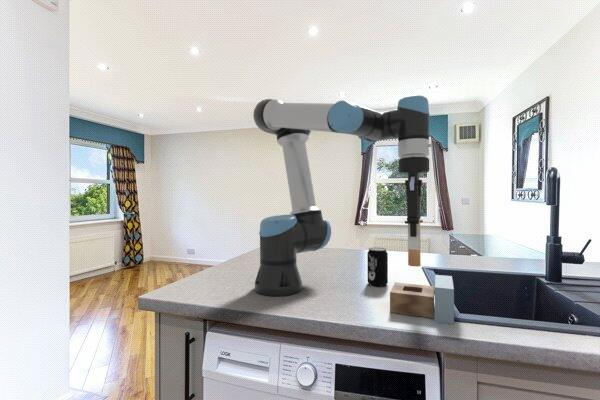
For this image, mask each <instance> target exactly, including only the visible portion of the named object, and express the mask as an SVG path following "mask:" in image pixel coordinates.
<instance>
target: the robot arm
mask: <svg viewBox="0 0 600 400" xmlns="http://www.w3.org/2000/svg"><path fill="white" fill-rule="evenodd" d="M429 107H430V105H429V100H428V98H427V97H425V96H424V95H420V94H419V95H417V94H416V95H415V94H411V95H408V96H407V95H406V96H404V97H403V98H400V99H398V102H397V108H395V109H391V110H387V111H381V112H380V111H377V110H374V109H371V108H368V107H367V106H363V105H360V104H359V103H355V102H354V101H349V100H338V101H336V103H324V102H322V103H321V102H320V103H318V102H317V103H314V102H311V103H308V102H307V103H306V102H305V103H304V102H302V103H301V102H283V101H281V100H279V99H271V98H267V99H262V100H261V101H259V102H258V103H257V104H256V105H255V107H254V109H253V120H254V124H255V125H256V127H257V128H258V129H260V130H261V131H262V132H265V133H267V134H272V135H275V136H276V143H277V144H278V145H279V146H281V147H282V153H283V159H284V166H285V172H286V173H285V174H286V177H287V178H286V179H287V185H288V191H289V198H290V203H291V212H290V213H289V214H282V215H278V214H277V215H272V216H267V217H265V218H263V219H262V220H261V221H260V223H259V232H258V234H259V269H258V271H257V275H256V278H255V280H254V291H255V292H256V293H257V294H260V295H262V296H271V297H282V296H290V295H294V294H297V293H300V292H301V291H302V290H303V281H302V277H301V275H300V272H299V267H298V265H297V254H301V253H307V252H316V251H317V250H321V249H324V248H325V247H327V245H328V244H329V242H330V240H331V238H332V226H331V223H330V221H328V220H327V218H326V217H323V214H322V210H321V209H320V208H319V207H317V205H316V198H315V192H314V186H313V182H312V180H313V179H312V173H311V168H310V162H309V156H308V152H307V151H308V150H307V145H306V143H307V142H308V140H309V139H310V137H309V136H310V134H311V132H312V131H314V132H315V131H316V132H327V133H335V134H344V135H352V136H356V137H357V136H358V139H360V141H361V142H363V143H376V142H379V141H380V142H381V141H384V140H392V139H398V140H397V157H399V159H398V163H397V164H398V173H399V174H401V175H402V174H405V175H406V174H407V179H406V180H405V181H404V186H405V196H406V214H407V215H406V220H405V221H404V224H405V225H407V250H408V249H411V250H419V224H418V223H419V219H420V223H423V222H424V220H423V219H421V197H422V187H423V180H422V179H420V174H427V173H429V172H430V158H429V157H428V156H430V149H429V148H432V146H433V145H432V143H429V142H430V109H429Z"/></svg>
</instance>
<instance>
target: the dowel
mask: <svg viewBox="0 0 600 400" xmlns="http://www.w3.org/2000/svg"><path fill="white" fill-rule="evenodd" d="M420 220H421V218H420V219H419V223H418V224H419V250H411V249H408V248H407V265H408V266H409V267H421V262H422V261H421V222H420Z"/></svg>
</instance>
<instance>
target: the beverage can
mask: <svg viewBox="0 0 600 400" xmlns="http://www.w3.org/2000/svg"><path fill="white" fill-rule="evenodd" d="M388 254H389V253H388V252H387V248H385V247H369V248H368V251H367V283H368V285H369V286H372V287H378V288H379V287H380V288H381V287H386V286H387V285H388V283H389V281H388V280H389V276H388V275H389V274H388V273H389V270H388V269H389V266H388V265H389V263H388V261H389V260H388V259H389V257H388V256H389V255H388Z"/></svg>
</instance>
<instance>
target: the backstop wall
mask: <svg viewBox="0 0 600 400" xmlns="http://www.w3.org/2000/svg"><path fill="white" fill-rule="evenodd" d="M434 278H435V279H434V322H437V323H444V324H450V325H451V324H452V325H455V288H454V280H453V276H452V275H443V274H441V275H440V274H435V277H434Z"/></svg>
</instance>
